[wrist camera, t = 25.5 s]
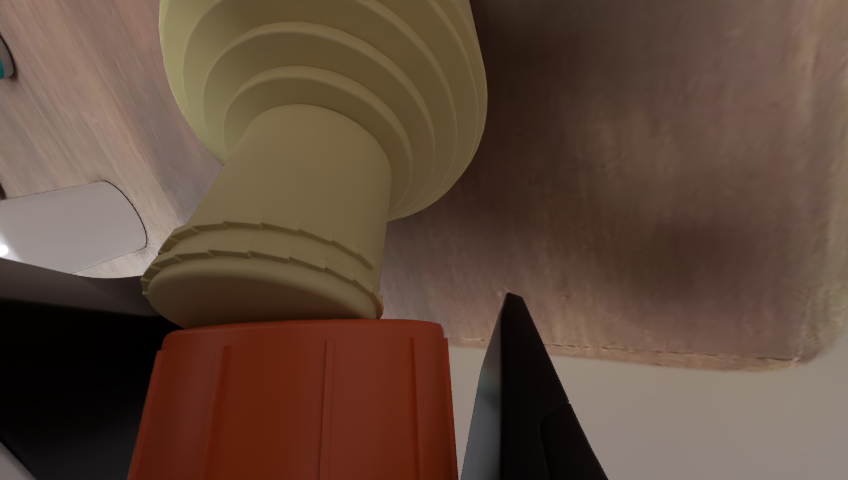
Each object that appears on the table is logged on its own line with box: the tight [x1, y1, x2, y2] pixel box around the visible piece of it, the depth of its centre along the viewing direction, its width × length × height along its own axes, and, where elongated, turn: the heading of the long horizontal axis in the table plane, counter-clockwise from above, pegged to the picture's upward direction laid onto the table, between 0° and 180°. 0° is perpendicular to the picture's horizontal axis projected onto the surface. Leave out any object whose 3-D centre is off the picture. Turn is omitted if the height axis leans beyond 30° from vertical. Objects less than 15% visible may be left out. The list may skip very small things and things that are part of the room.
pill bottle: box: [0, 181, 146, 274], centre depth 28 cm, size 8×8×11 cm
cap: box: [127, 319, 458, 480], centre depth 4 cm, size 4×4×3 cm
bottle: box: [140, 0, 488, 329], centre depth 8 cm, size 6×6×12 cm
